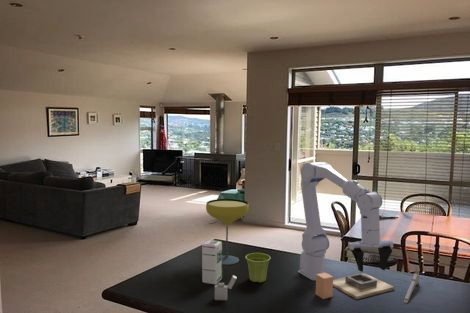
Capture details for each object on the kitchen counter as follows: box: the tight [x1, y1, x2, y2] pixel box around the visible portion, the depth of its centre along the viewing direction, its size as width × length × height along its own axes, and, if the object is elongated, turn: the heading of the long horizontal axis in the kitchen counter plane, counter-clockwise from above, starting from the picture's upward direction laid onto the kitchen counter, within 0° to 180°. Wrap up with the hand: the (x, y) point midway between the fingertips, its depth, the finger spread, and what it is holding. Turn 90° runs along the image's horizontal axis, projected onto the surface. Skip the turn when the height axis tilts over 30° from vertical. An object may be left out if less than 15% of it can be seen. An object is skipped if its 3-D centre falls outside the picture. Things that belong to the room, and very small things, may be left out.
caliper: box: [403, 267, 420, 304], centre depth 129 cm, size 20×1×6 cm, turn 144°
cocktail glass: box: [205, 198, 250, 266], centre depth 156 cm, size 18×18×25 cm
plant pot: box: [245, 252, 272, 283], centre depth 137 cm, size 9×9×9 cm
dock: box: [333, 272, 395, 300], centre depth 133 cm, size 14×18×3 cm
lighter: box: [214, 274, 237, 301], centre depth 121 cm, size 7×2×8 cm, turn 88°
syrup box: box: [201, 239, 223, 285], centre depth 135 cm, size 6×6×14 cm
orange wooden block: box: [315, 272, 334, 300], centre depth 125 cm, size 4×4×7 cm
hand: (371, 270), depth 121 cm, fingers open, 7 cm apart
